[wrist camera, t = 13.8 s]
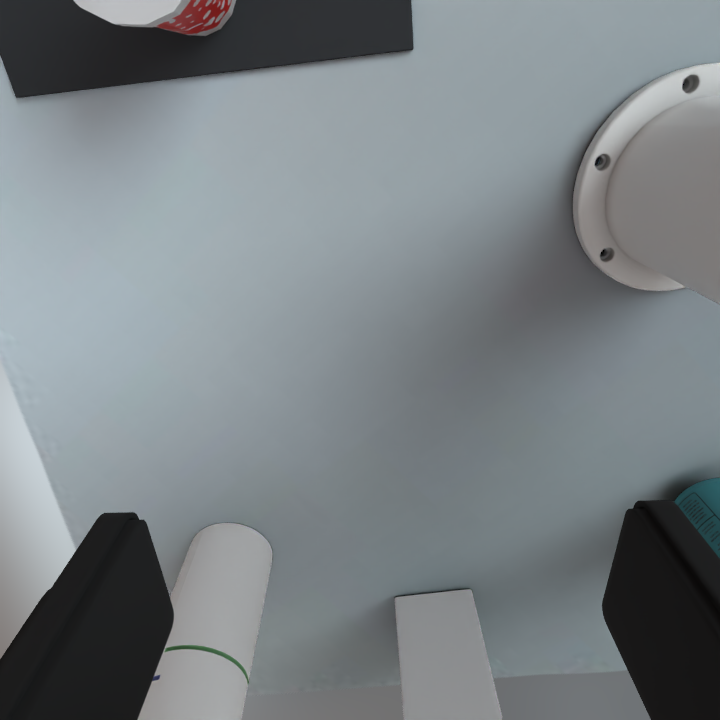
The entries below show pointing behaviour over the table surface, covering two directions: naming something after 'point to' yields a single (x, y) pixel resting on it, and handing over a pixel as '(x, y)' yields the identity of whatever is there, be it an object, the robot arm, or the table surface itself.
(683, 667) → the robot arm
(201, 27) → the beverage cup
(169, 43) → the mat
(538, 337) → the table surface
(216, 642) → the cylindrical container
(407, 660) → the milk carton
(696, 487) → the beverage bottle
